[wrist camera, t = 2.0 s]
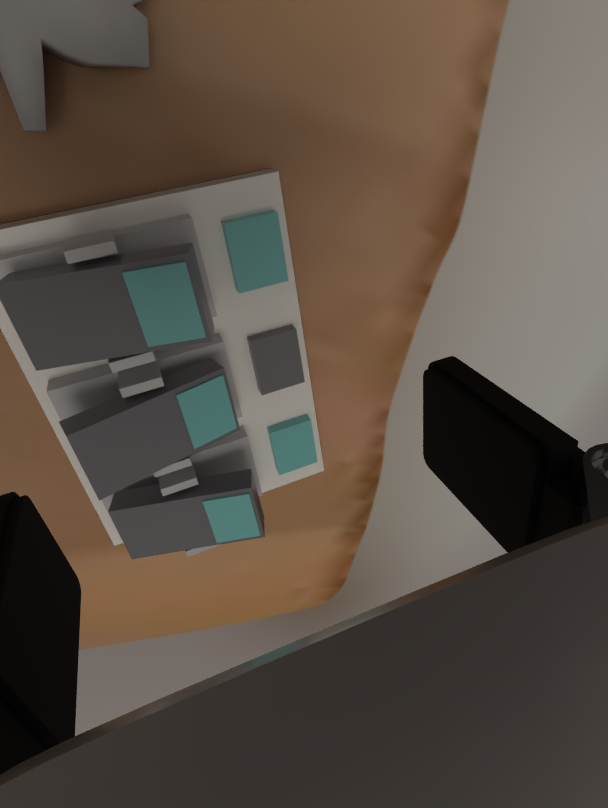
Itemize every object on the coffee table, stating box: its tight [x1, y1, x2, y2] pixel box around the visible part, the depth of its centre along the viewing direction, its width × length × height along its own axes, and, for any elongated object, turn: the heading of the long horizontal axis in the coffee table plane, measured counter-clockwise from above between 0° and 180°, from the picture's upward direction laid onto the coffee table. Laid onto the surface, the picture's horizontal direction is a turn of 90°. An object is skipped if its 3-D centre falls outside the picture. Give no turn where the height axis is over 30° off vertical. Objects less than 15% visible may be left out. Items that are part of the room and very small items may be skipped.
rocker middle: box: [59, 358, 240, 501], centre depth 25 cm, size 4×8×2 cm, turn 98°
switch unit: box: [0, 169, 324, 557], centre depth 27 cm, size 20×15×5 cm
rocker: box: [108, 469, 265, 559], centre depth 29 cm, size 4×8×2 cm, turn 98°
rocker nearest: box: [0, 243, 214, 371], centre depth 22 cm, size 4×8×2 cm, turn 98°
